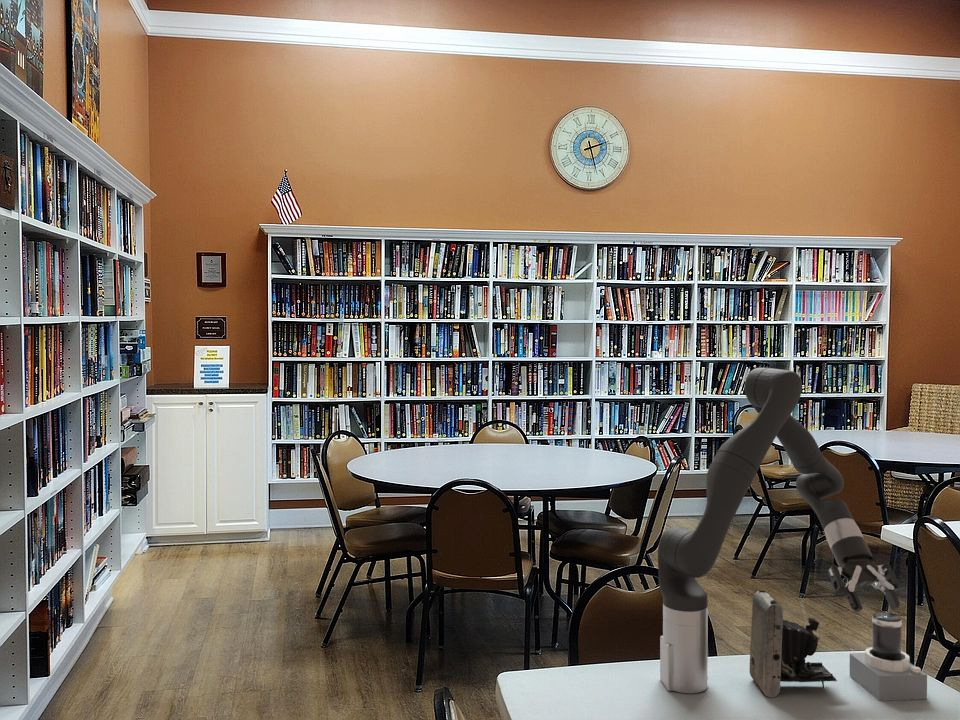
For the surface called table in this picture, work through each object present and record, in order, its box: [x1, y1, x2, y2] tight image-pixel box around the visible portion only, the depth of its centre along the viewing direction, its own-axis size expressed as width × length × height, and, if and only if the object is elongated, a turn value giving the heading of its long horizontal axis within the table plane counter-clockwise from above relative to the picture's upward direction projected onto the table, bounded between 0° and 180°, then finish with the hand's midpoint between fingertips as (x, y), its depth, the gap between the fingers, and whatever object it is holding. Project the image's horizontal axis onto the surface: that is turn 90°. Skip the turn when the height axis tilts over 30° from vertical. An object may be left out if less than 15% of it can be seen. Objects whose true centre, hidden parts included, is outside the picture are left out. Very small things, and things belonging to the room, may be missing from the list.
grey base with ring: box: [849, 646, 928, 701], centre depth 173 cm, size 10×12×7 cm
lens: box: [871, 611, 903, 661], centre depth 173 cm, size 6×6×10 cm
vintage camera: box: [749, 589, 838, 698], centre depth 172 cm, size 10×16×20 cm, turn 89°
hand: (877, 609), depth 176 cm, fingers open, 8 cm apart
